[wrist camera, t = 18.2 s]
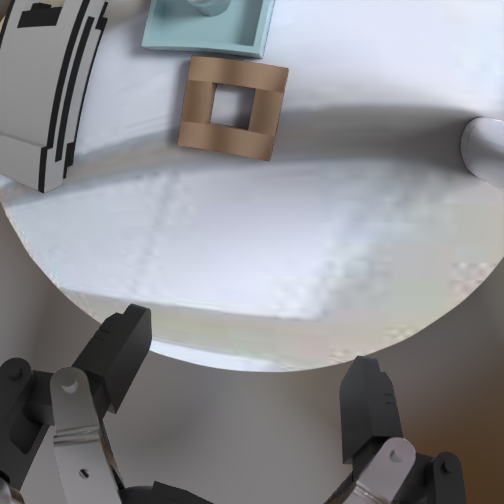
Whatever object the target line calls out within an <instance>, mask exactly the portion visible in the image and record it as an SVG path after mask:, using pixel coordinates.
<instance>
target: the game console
mask: <svg viewBox="0 0 504 504" xmlns="http://www.w3.org/2000/svg"><path fill="white" fill-rule="evenodd" d="M39 2H40V0H11V2H10V5H9V8H8V11H7V13H6V16H5V19H4V23H3V26H2V29H1V33H0V174H1V175H3V176H5V177H8V178H10V179H12V180H14V181H17V182H19V183H21V184H23V185H26V186H28V187H30V188H33V189H35V190H37V191H40V192H42V193H46V192H48V191H50V190H52V189H54V188H56V187H58V186H60V185H62V181H63V179H64V178H66V173H67V167H68V166H71V165H73V157H74V150H75V144H76V137H77V132H78V126H79V121H80V116H81V111H82V106H83V101H84V97H85V93H86V89H87V84H88V81H89V77H90V73H91V69H92V66H93V62H94V59H95V55H96V52H97V49H98V46H99V43H100V40H101V37H102V34H103V31H104V28H105V25H106V22H107V20H108V19H107V18H104V17H103V15H104V12H105V9H106V7H107V4H108V2H105V0H65V2H64V5H63V7H55V8H51V5H49V4H43V3H39Z"/></svg>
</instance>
